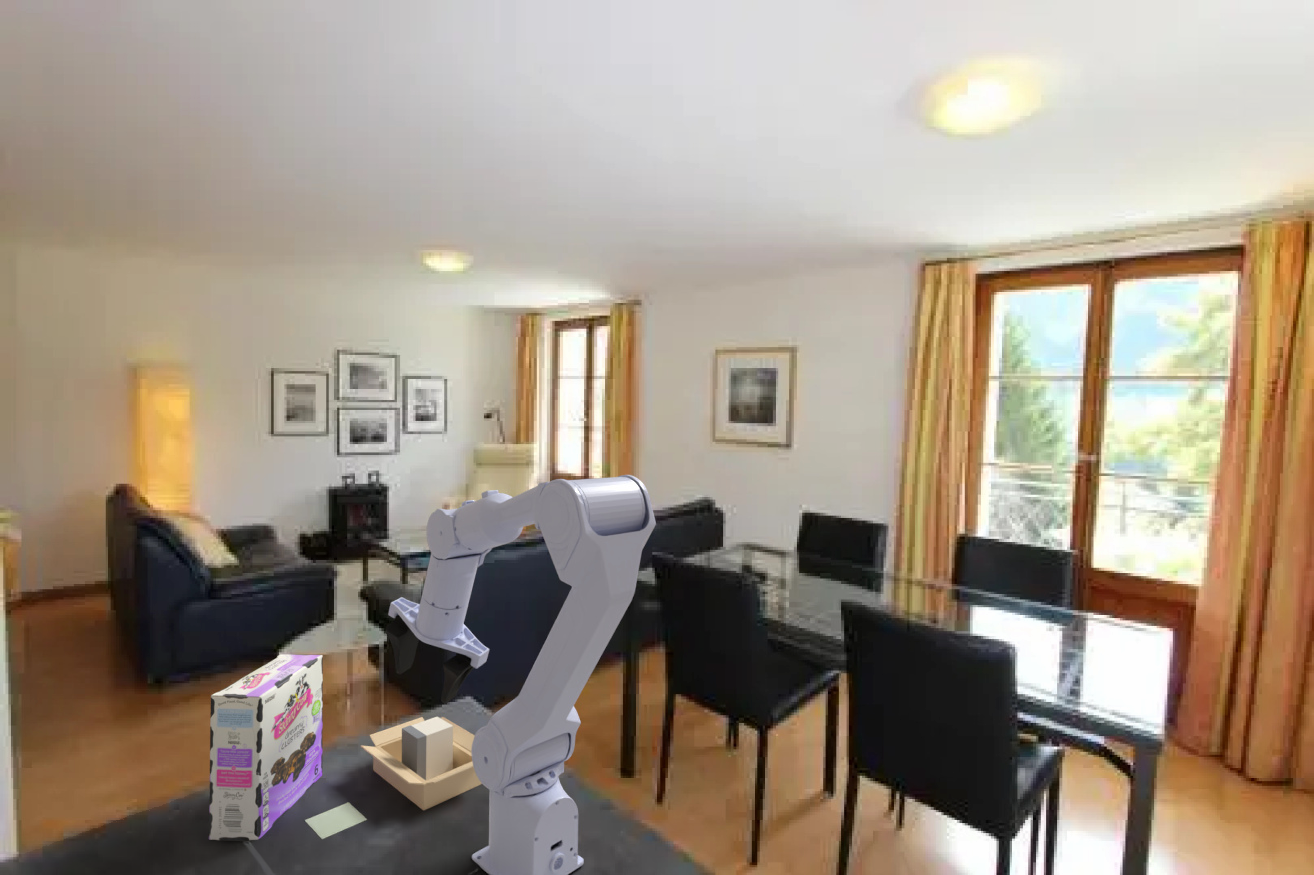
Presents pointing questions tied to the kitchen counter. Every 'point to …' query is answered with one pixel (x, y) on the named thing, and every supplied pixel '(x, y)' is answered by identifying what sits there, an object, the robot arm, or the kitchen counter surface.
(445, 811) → the kitchen counter surface
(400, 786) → the carton
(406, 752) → the block
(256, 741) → the candy box
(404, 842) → the kitchen counter surface
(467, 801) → the kitchen counter surface
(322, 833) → the mat
